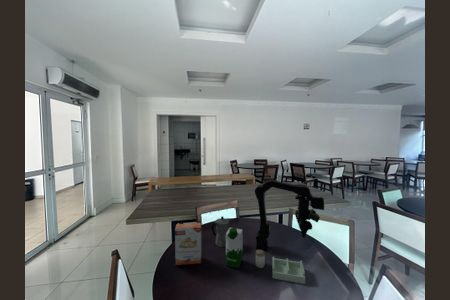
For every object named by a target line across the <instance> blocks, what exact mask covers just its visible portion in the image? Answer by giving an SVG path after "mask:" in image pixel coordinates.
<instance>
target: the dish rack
mask: <svg viewBox="0 0 450 300" xmlns="http://www.w3.org/2000/svg"><path fill="white" fill-rule="evenodd" d="M271 260H272V264H271V265H272V267H271V268H272V269H271V270H272V279H275V280H280V281H285V282H291V283H292V282H293V283H297V284H303V285H306V276H305V275H306V272H305V267H304V264H303V260H299V261H294V260H289V258H285V259H283V258H282V259H281V258H276V257H275V256H272V259H271Z"/></svg>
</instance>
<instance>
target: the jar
mask: <svg viewBox="0 0 450 300" xmlns="http://www.w3.org/2000/svg"><path fill="white" fill-rule="evenodd" d="M265 252H266V251H263V250H255V266H256V268H260V269H263V268H264V267H265V264H266V263H265V262H266V261H265V259H266V258H265V257H266V253H265Z"/></svg>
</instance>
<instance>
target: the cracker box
mask: <svg viewBox="0 0 450 300" xmlns="http://www.w3.org/2000/svg"><path fill="white" fill-rule="evenodd" d="M174 230H175V231H174V235H175V236H174V240H175V241H174V243H175V244H174V245H175V246H174V247H175V249H174V250H175V266H181V265H195V264H198V265H199V264H202V223H201V222H194V223H177V224H176V225H175V229H174Z"/></svg>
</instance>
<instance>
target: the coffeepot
mask: <svg viewBox="0 0 450 300" xmlns="http://www.w3.org/2000/svg"><path fill="white" fill-rule="evenodd" d="M230 220H231V218H226V217H225V218H224V216H221V217H220V218H217V219H216V220H214V222H213V223H212V224H211V226H210V229H211V232H212V235H213V237H215V241H214V242H215V245H216V246H217V247H219V248H226V233H227V231H228V229H229V228H230ZM215 229H216V231H215Z"/></svg>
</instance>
